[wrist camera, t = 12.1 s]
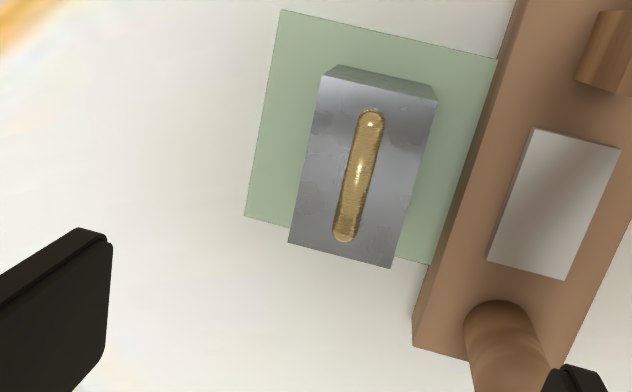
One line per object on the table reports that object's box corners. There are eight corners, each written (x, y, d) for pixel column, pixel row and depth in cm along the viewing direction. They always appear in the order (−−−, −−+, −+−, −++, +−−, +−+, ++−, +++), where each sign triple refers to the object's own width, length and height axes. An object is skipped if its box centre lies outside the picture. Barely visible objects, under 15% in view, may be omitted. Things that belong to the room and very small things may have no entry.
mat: (506, 61, 27) (508, 62, 26) (438, 264, 31) (438, 267, 30) (282, 9, 27) (280, 9, 27) (246, 213, 32) (243, 215, 31)
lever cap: (430, 85, 27) (440, 105, 21) (392, 222, 30) (389, 277, 23) (338, 63, 27) (318, 77, 21) (308, 201, 30) (283, 250, 24)
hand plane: (690, 14, 25) (816, 10, 17) (539, 352, 32) (582, 456, 24) (523, -23, 25) (575, -42, 18) (411, 317, 32) (414, 407, 25)
